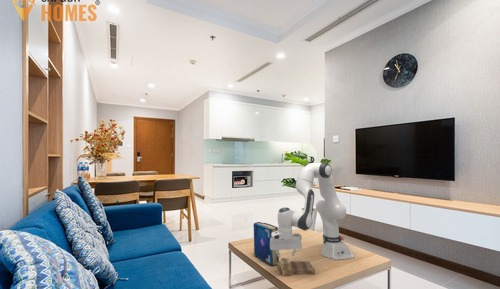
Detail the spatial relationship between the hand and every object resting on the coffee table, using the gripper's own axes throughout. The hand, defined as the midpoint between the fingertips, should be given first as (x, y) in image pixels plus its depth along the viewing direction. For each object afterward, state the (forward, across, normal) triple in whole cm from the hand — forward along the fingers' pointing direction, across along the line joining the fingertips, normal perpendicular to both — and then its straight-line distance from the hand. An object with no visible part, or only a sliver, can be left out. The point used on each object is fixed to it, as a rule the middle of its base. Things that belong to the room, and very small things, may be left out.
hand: (286, 256), depth 147 cm
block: (+10, +1, +1) cm, 10 cm away
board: (+10, -6, -4) cm, 13 cm away
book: (+10, +12, -19) cm, 24 cm away
